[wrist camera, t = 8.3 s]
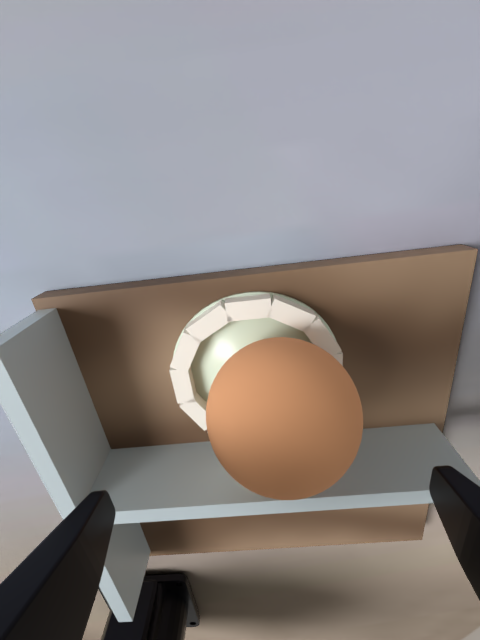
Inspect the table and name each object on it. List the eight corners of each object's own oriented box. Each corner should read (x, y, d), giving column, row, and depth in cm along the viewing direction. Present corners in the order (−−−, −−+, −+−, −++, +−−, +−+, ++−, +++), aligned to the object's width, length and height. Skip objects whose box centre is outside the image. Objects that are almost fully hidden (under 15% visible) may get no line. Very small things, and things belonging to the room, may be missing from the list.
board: (413, 523, 20) (457, 611, 16) (143, 540, 21) (119, 626, 17) (461, 244, 13) (564, 273, 9) (45, 291, 14) (-39, 337, 10)
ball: (312, 405, 16) (395, 502, 11) (205, 440, 14) (242, 569, 9) (309, 303, 13) (411, 365, 8) (182, 333, 12) (214, 427, 7)
